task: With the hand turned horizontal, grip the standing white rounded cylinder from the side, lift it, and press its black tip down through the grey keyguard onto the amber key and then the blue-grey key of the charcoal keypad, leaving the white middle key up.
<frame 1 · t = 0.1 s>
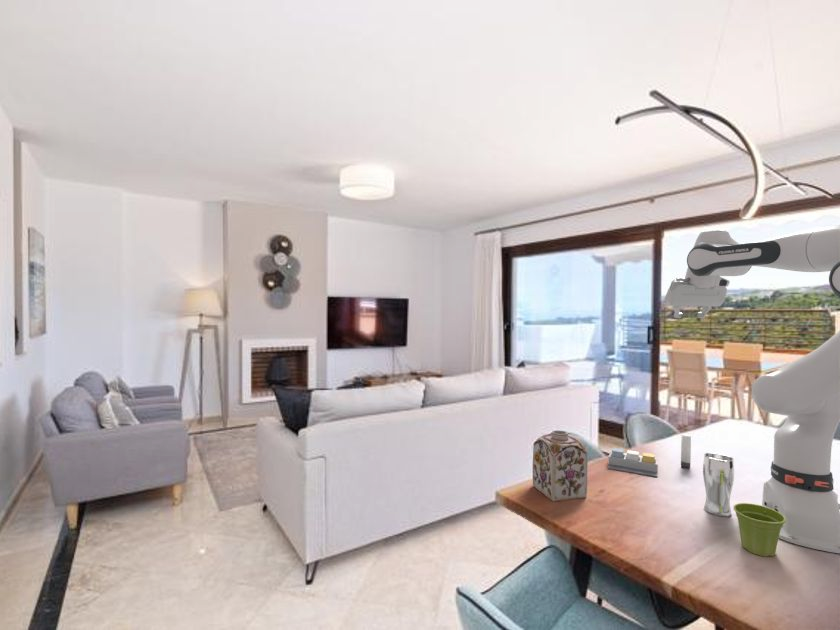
hand: (688, 317, 148), 52 cm above the table, tool tilted 20°, fingers open, 8 cm apart
keypad: (632, 466, 150), on the table
beer glass: (717, 512, 118), on the table
white rounded cylinder: (685, 467, 150), on the table
decorative jar: (559, 492, 129), on the table
key slate: (617, 454, 152), point 3 cm above the table, slide at 0.0 cm
key white: (632, 456, 150), point 3 cm above the table, slide at 0.0 cm
plant pot: (757, 550, 99), on the table
key amber: (648, 459, 148), point 3 cm above the table, slide at 0.0 cm
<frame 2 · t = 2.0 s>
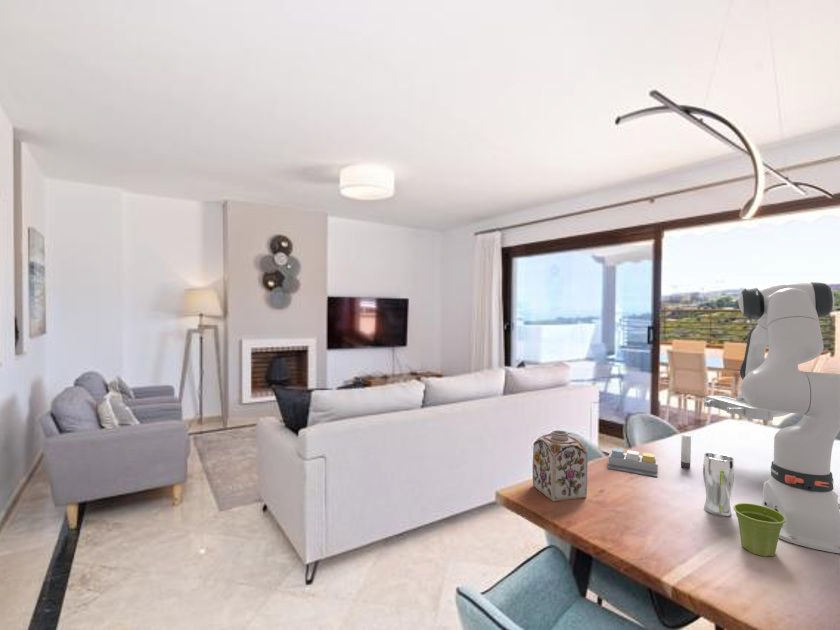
hand: (716, 407, 152), 20 cm above the table, tool horizontal, fingers open, 8 cm apart
nothing on the table moved.
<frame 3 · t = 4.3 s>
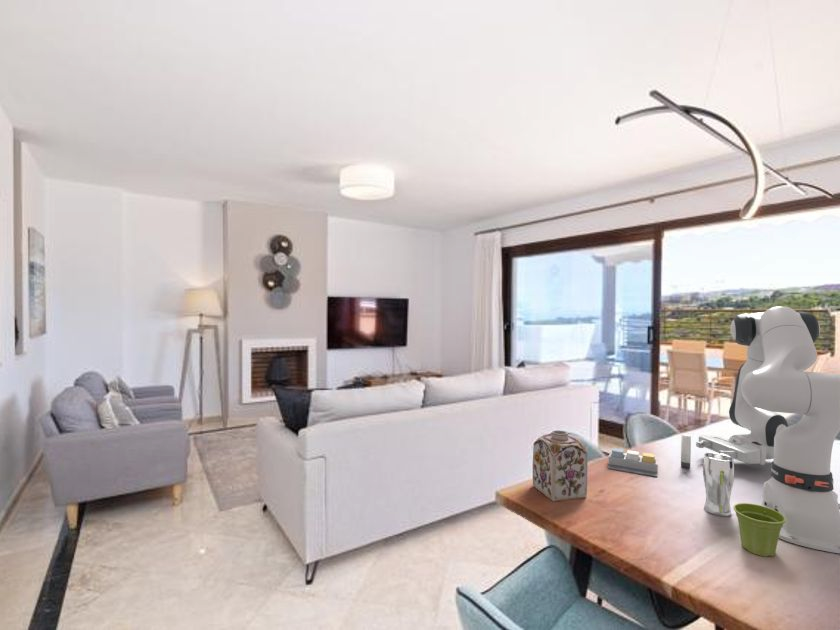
hand: (708, 449, 151), 6 cm above the table, tool horizontal, fingers open, 8 cm apart
nothing on the table moved.
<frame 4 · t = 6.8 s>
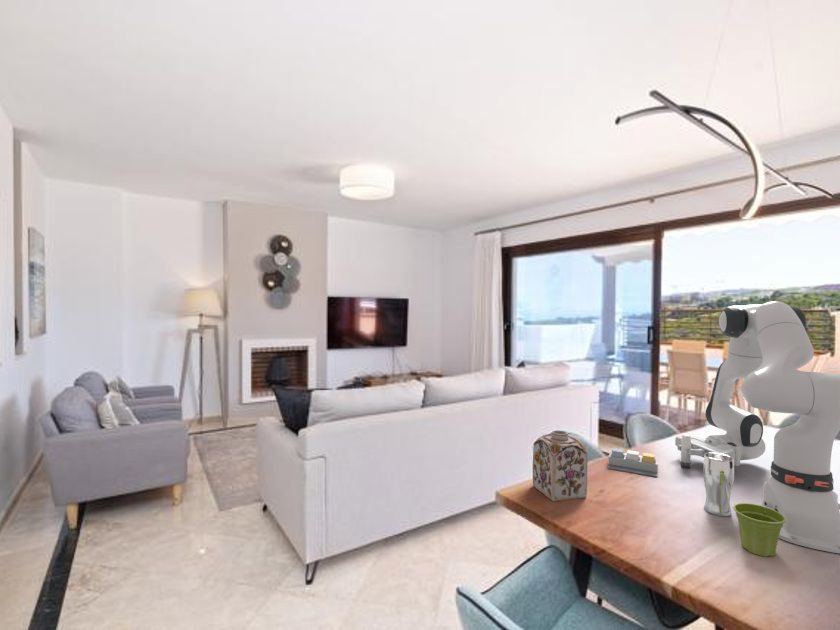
hand: (683, 450, 150), 6 cm above the table, tool horizontal, fingers closed on white rounded cylinder, 3 cm apart
white rounded cylinder: (685, 467, 150), on the table, touching gripper
everything else where it was.
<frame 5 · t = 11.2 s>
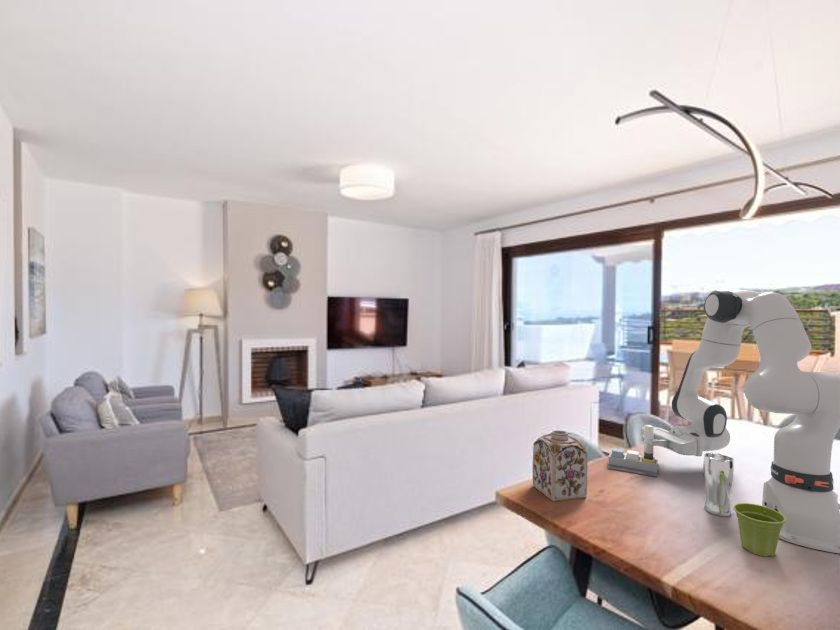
hand: (646, 440, 148), 10 cm above the table, tool horizontal, fingers closed on white rounded cylinder, 3 cm apart
white rounded cylinder: (648, 458, 148), point 4 cm above the table, touching gripper, key amber
key amber: (648, 462, 148), point 2 cm above the table, slide at 1.1 cm, touching white rounded cylinder
everything else where it was.
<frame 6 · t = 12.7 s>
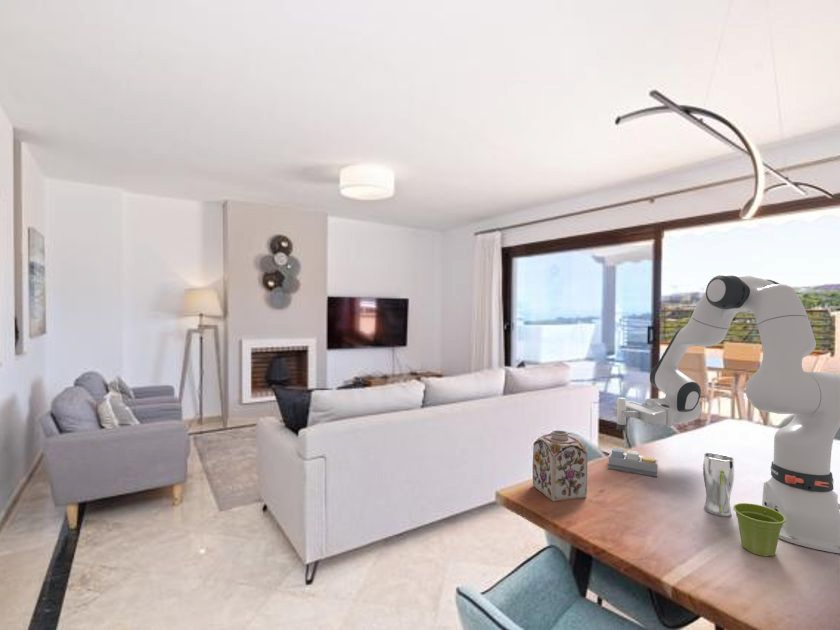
hand: (619, 412, 152), 18 cm above the table, tool horizontal, fingers closed on white rounded cylinder, 3 cm apart
white rounded cylinder: (621, 429, 152), point 12 cm above the table, touching gripper
key amber: (648, 462, 148), point 2 cm above the table, slide at 1.2 cm
everything else where it was.
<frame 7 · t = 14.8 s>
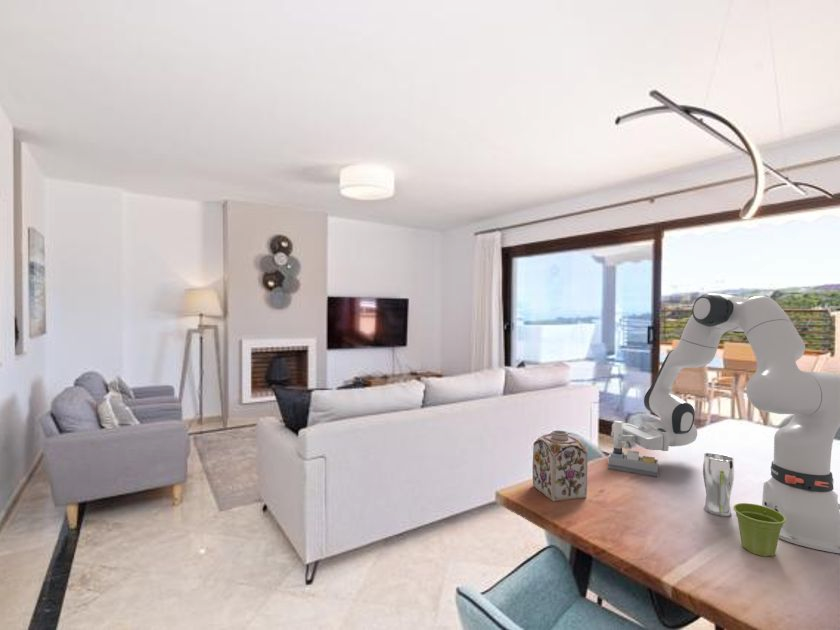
hand: (615, 436, 152), 10 cm above the table, tool horizontal, fingers closed on white rounded cylinder, 3 cm apart
white rounded cylinder: (617, 452, 153), point 4 cm above the table, touching gripper, key slate
key slate: (617, 457, 152), point 2 cm above the table, slide at 1.1 cm, touching white rounded cylinder
everything else where it was.
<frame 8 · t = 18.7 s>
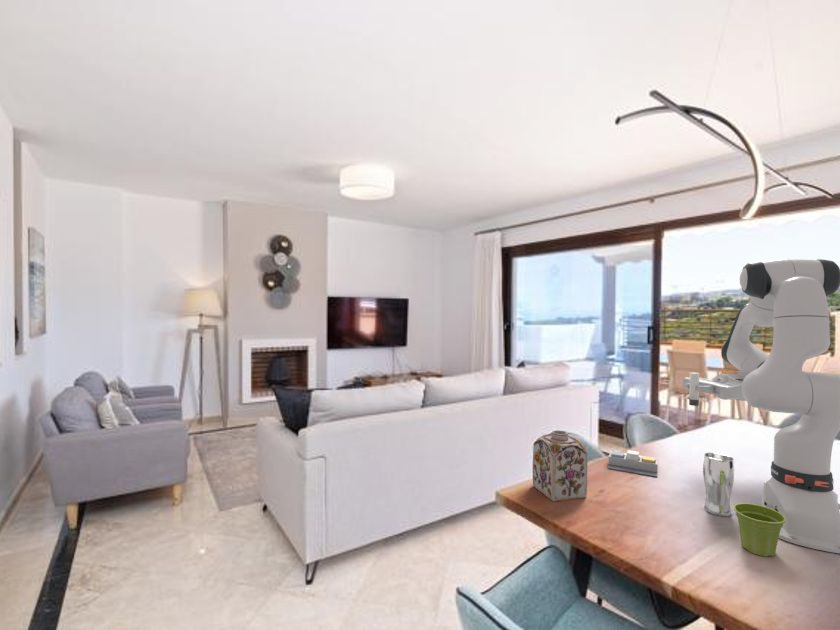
hand: (691, 387, 149), 28 cm above the table, tool horizontal, fingers closed on white rounded cylinder, 3 cm apart
white rounded cylinder: (693, 404, 149), point 22 cm above the table, touching gripper
key slate: (617, 457, 152), point 2 cm above the table, slide at 1.2 cm
everything else where it was.
at the end: key amber slide at 1.2 cm; key slate slide at 1.2 cm; key white slide at 0.0 cm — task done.
